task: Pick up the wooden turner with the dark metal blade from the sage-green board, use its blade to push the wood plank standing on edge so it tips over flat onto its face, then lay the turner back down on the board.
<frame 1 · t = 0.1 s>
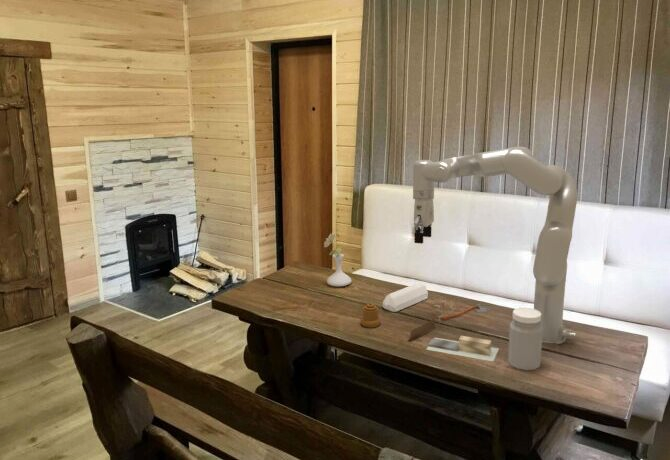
hand: (423, 239, 207), 31 cm above the table, tool pointing down, fingers open, 9 cm apart
ornamental finial: (370, 324, 210), on the table
flower in vase: (337, 285, 254), on the table
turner: (465, 349, 186), point 1 cm above the table, touching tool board
axe: (467, 316, 217), on the table
wood plank: (421, 337, 199), on the table
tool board: (462, 351, 186), on the table
crystal: (405, 304, 230), on the table
jar: (524, 366, 176), on the table
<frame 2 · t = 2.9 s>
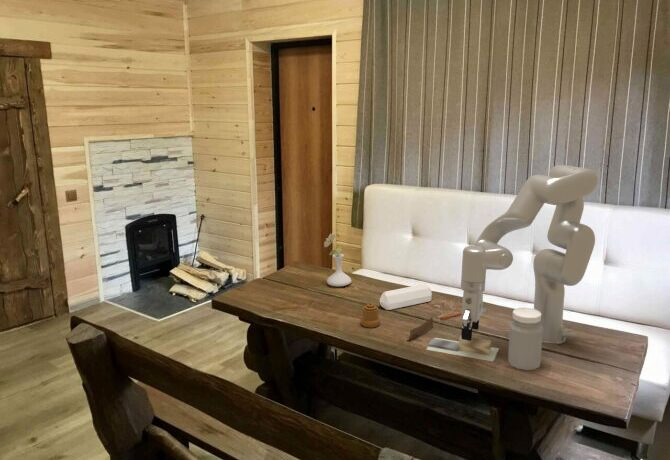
hand: (469, 334, 183), 7 cm above the table, tool pointing down, fingers open, 9 cm apart
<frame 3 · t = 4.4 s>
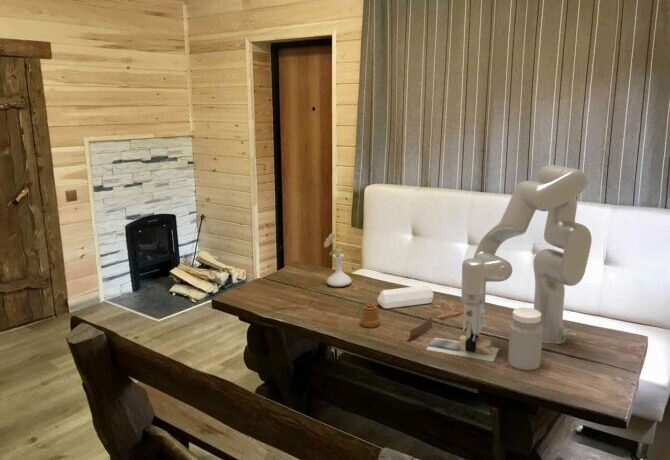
hand: (471, 348, 185), 2 cm above the table, tool pointing down, fingers closed on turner, 3 cm apart
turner: (465, 349, 186), point 1 cm above the table, touching gripper
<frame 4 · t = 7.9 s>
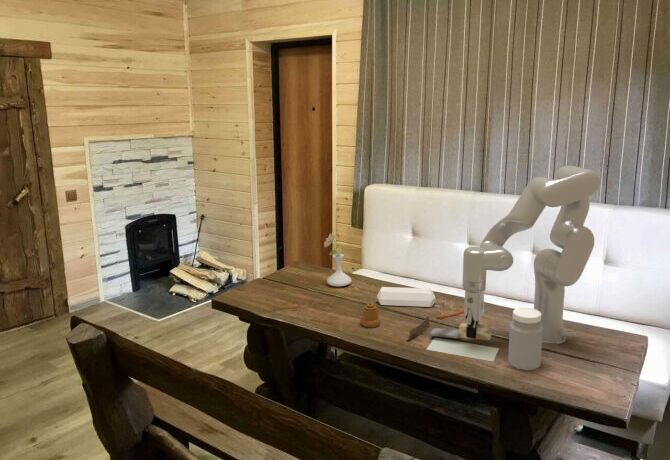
hand: (472, 335, 190), 4 cm above the table, tool pointing down, fingers closed on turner, 2 cm apart
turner: (466, 335, 191), point 3 cm above the table, touching gripper
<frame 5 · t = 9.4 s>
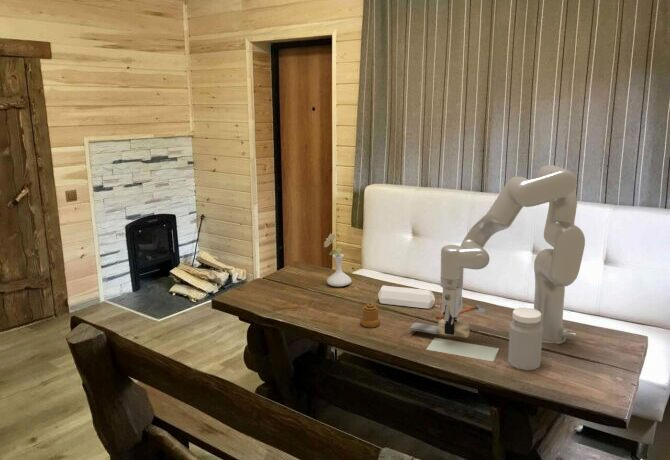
hand: (450, 331, 193), 4 cm above the table, tool pointing down, fingers closed on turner, 2 cm apart
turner: (445, 332, 194), point 3 cm above the table, touching gripper
wood plank: (417, 332, 199), point 1 cm above the table
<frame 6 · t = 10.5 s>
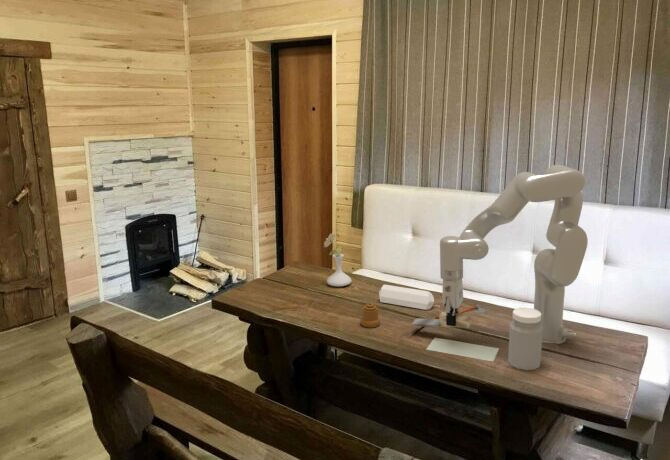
hand: (452, 323, 193), 7 cm above the table, tool pointing down, fingers closed on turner, 2 cm apart
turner: (447, 324, 194), point 6 cm above the table, tilted 7°, touching gripper
when the fingers open (3 cm above the table, at t = 14.2 s): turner drops 1 cm, resting on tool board.
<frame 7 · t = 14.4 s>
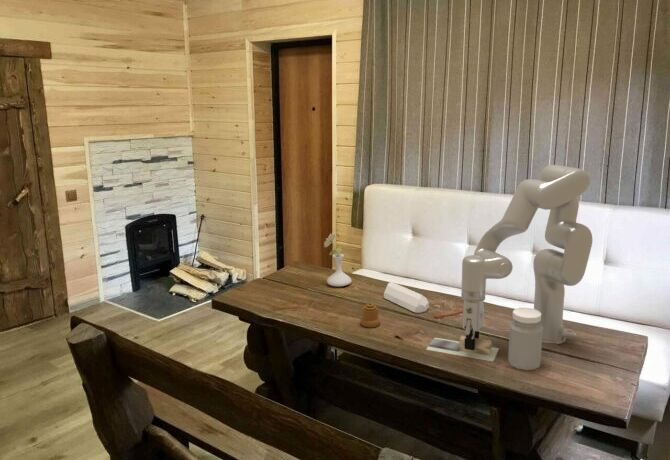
hand: (471, 345, 184), 3 cm above the table, tool pointing down, fingers open, 5 cm apart
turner: (466, 349, 186), point 1 cm above the table, touching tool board
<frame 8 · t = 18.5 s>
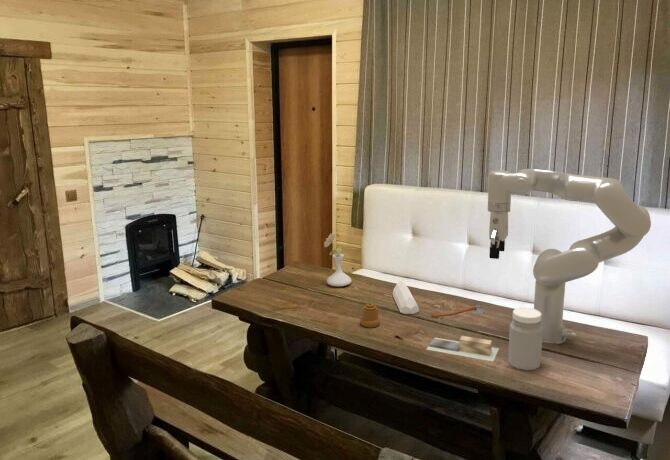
hand: (497, 254, 196), 28 cm above the table, tool pointing down, fingers open, 9 cm apart
at the end: wood plank tilted 90°; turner touching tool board; the gripper is holding nothing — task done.
